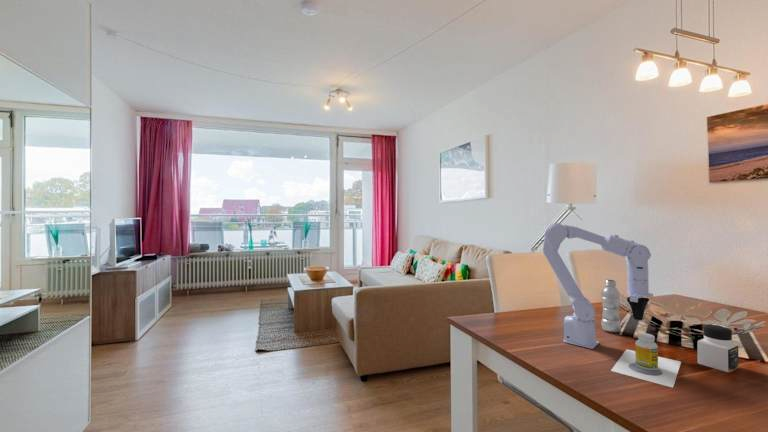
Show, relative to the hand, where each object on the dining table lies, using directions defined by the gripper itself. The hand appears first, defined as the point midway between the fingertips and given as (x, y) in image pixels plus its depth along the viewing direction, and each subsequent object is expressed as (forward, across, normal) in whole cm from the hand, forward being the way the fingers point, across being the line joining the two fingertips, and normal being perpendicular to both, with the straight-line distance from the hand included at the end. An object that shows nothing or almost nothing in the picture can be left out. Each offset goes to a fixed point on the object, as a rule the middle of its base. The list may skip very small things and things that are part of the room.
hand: (638, 319), depth 114 cm
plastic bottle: (+11, +15, +11) cm, 21 cm away
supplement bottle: (+11, -14, -4) cm, 18 cm away
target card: (+10, -13, -4) cm, 17 cm away
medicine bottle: (+11, +2, -19) cm, 22 cm away
